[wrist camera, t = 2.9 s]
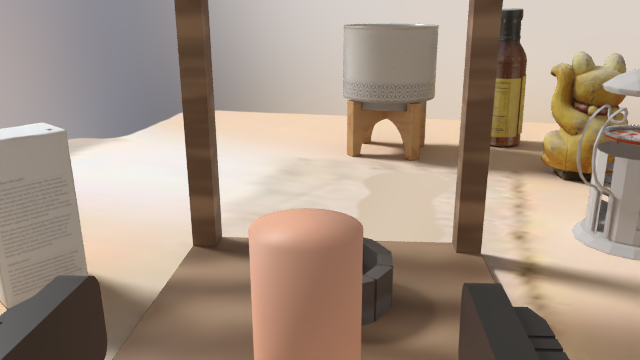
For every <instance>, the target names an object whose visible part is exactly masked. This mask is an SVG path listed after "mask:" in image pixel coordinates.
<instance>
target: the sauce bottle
mask: <svg viewBox="0 0 640 360" xmlns="http://www.w3.org/2000/svg"><path fill="white" fill-rule="evenodd" d="M522 18H523V9H502V16H501V27H500V39H499V50H498V62H497V73H496V85H495V96H494V107H493V119H492V130H491V142H490V145H493V146H497V147H505V146H515V145H517V144H518V143H519V141H520V133H521V132H522V122H523V110H524V109H523V108H524V96H525V83H526V62H527V59H526V54H525V52H524V49H523V47H522V46H521V44H520V38H521V37H520V30H521V20H522Z"/></svg>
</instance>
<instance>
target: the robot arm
mask: <svg viewBox="0 0 640 360" xmlns="http://www.w3.org/2000/svg"><path fill="white" fill-rule="evenodd" d="M106 351H107V334H106V327H105V320H104V313H103V306H102V299H101V292H100V286H99V283H98V280H97V279H96V278H95V277H94V276H70V275H59V276H57V277H55V278H54V279H53V280H52V281H51V282H50V283H48V284H47V285H46V286H45V287H44V288H43V289H41V290H40V291H39V292H38V293H37V294H35V295H34V296H33V297H31V298H29V299H27V300H25V301H23V302H21V303H19V304H17V305H15V306H13V307H11V308H9V309H8V310H7V311H6V312H4V313H3V314H2V315H1V316H0V360H104V359H105V356H106ZM458 360H569V358H568V357H567V355H566V353H565V352H563V348H562V347H561V345H560V343H559V342H558V340H557V339H555V335H554V333H553V332H552V330H551V328H550V327H549V325H548V323H547V322H546V320H544V319H543V318H542V317H540V316H539V315H538V314H536V313H535V312H533V311H532V310H531V309H529V308H528V307H513V306H512V305H511V303H510V301H509V299H508V297H507V295H506V293H505V291H504V289H503V287H502V285H501V284H500V283H464V284H463V287H462V295H461V312H460V329H459V346H458Z"/></svg>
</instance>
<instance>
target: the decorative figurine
mask: <svg viewBox="0 0 640 360" xmlns="http://www.w3.org/2000/svg"><path fill="white" fill-rule="evenodd" d="M623 73H626V65H625V61H624V58H623V57H622V56H621V55H620V54H618V53H614V54H612V55H610V56H609V57H608V58H607V60H606V62H605V64H604V66H595V64H594V62H593V60H592V58H591V57H590V56H589V55H588V54H587V53H585V52H578V53H576V54H575V56H574V58H573V61H572V66H571V65H569V64H564V63H562V64H558V65H556V66H554V67H553V68H552V70H551V74H552V75H553V76H555V77H556V76H557V80H558V83H557V87H556V90H555V93H554V95H553V98H552V102H551V110H552V114H553V117H554V119H555V120H556V122H557V123H558V124H559V126H560V129H559V131H557V130H555V131H552V132H549V133H548V134H547V135H546V136H545V138H544V142H543V148H544V152H545V153H543V154H542V155H541V159H542V161H543V162H544V163H545V164H546V165H548V166H550V167H552V168H554V169H553V170H554V171H556V172H557V173H558V176H560V177H561V178H563V179H564V180H582V178H581V177H580V175H579V171H578V168H577V151H578V143H579V139H580V136H581V134H582V132H583V129H584V127H585V125H586V123H587V121H588V120H589V118H590V117H591V116H592V115H593V114H594V112H595V111H597V110H598V109H600V108H601V107H603V106H604V105H606V104H607V105H610V106H611V115H612V114H613V113H615V112H616V111H617V110H619V109H620V108H619V106H618V105H619V104H620V103H621V102H622V101H623V99H624V98H625V97H626V95H620V94H616V93H611V92H608V91H606V90H605V89H604V87H603V85H602V84H604V83H605V82H607V81H609V80H610V79H612V78H614V77H616V76H617V75H620V74H623ZM623 118H624V115H623V114H622V113H618V114H617V115H615V116H614V117H613V118H612V119H613V120H618V121H622V120H623ZM607 120H608V108H607V107H606V108H604V109H603V110H601V111H600V112H598V113H597V114H596V116H595V117H594V118H593V120H592V121H591V122H590V124H589V126H588V128H587V130H586V132H585V134H584V137H583V140H582V144H581V155H580V165H581V170H582V175H583V177H584V178H585V179H586V180H591V178H592V156H593V149H594V144H595V142H596V139H597V136H598V134H599V131H600V130H601V128H602V127H603V125H604V124H605V123H606V121H607ZM614 125H627V126H628V121H627V119H626V121H625V123H623V124H617V123H612V122H611V121H610V122H609V124H608V125H607V126H606V128H607V127H608V126H614ZM619 127H620V126H619ZM609 141H612V140H610V139H608V138H606V137H605V136H604V135H603V134H602V136H601V138H600V141H599V143H598V144H600V143H603V142H609ZM607 161H608V162H610V163H612V164H614V162H615V157H613V156H611V155H609V154H608V158H607ZM612 172H613V171H611V170H609V169H607V168H606V171H605V173H612Z"/></svg>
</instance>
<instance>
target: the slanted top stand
mask: <svg viewBox="0 0 640 360" xmlns="http://www.w3.org/2000/svg"><path fill="white" fill-rule="evenodd" d="M502 4H503V0H470V1H469V14H468V28H467V42H466V57H465V70H464V84H463V99H462V113H461V127H460V141H459V155H458V169H457V183H456V198H455V212H454V226H453V240H452V243H435V242H394V241H393V242H392V241H373V240H371V239H367V238H363V265H362V315H361V360H458V346H459V329H460V312H461V295H462V287H463V284H464V283H495V282H494V280H493V278H492V276H491V274H490V271H489V269H488V267H487V265H486V263H485V261H484V259H483V257H482V255H481V245H482V234H483V222H484V211H485V199H486V188H487V176H488V165H489V153H490V142H491V130H492V119H493V107H494V96H495V85H496V73H497V62H498V50H499V39H500V27H501V16H502ZM208 11H209V10H208V0H175V14H176V26H177V39H178V53H179V66H180V79H181V91H182V104H183V118H184V131H185V144H186V157H187V170H188V183H189V197H190V210H191V223H192V236H193V247H192V248H191V250H190V251H189V253H188V254H187V255H186V257H185V258H184V260H183V261H182V262H181V264H180V265H179V267H178V268H177V269H176V271H175V272H174V274H173V275H172V276H171V278H170V279H169V281H168V282H167V284H166V285H165V286H164V288H163V289H162V291H161V292H160V293H159V295H158V296H157V298H156V299H155V300H154V302H153V303H152V305H151V306H150V307H149V309H148V310H147V312H146V313H145V314H144V316H143V317H142V319H141V320H140V322H139V323H138V324H137V326H136V327H135V329H134V330H133V331H132V333H131V334H130V336H129V337H128V338H127V340H126V341H125V343H124V344H123V345H122V347H121V348H120V350H119V351H118V352H117V354H116V355H115V357H114V358H113V360H254V345H253V322H252V299H251V277H250V254H249V238H234V237H222V227H221V211H220V194H219V177H218V161H217V144H216V127H215V110H214V94H213V77H212V62H211V61H212V60H211V43H210V28H209V12H208Z"/></svg>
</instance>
